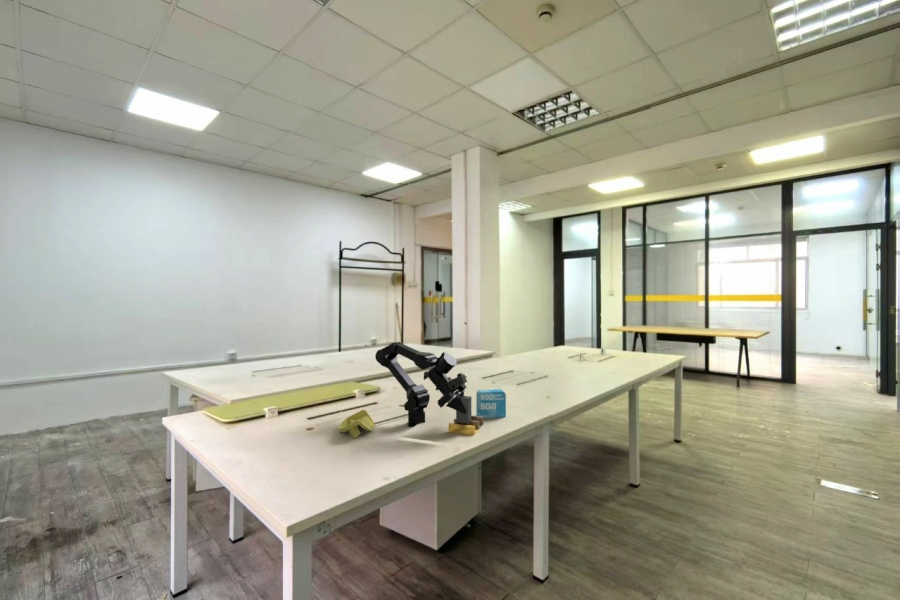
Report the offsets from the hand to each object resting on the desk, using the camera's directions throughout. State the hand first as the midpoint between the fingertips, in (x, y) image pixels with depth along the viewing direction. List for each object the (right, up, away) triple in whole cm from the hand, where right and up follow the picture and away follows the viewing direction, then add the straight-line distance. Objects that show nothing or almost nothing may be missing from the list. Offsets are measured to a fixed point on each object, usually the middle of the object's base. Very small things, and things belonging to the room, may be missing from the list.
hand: (467, 411), depth 144 cm
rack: (0, -8, +3) cm, 9 cm away
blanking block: (-1, -6, 0) cm, 7 cm away
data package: (+11, -9, +19) cm, 23 cm away
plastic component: (-43, -9, +2) cm, 44 cm away
